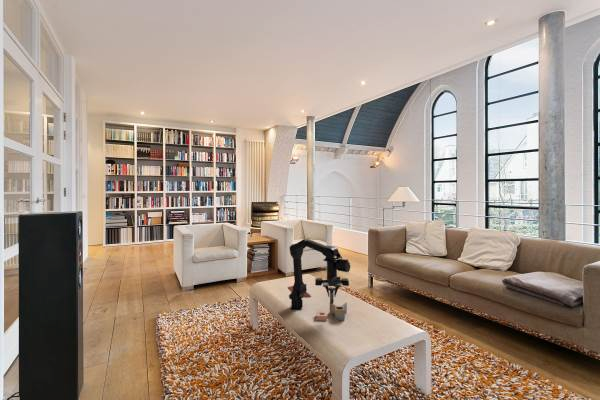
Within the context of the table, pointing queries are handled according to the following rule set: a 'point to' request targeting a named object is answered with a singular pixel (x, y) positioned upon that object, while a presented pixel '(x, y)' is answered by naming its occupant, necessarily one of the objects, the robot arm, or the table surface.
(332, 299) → the hinge pin
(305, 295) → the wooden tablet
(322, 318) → the pin holder
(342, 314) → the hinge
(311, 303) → the table surface
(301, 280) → the robot arm
